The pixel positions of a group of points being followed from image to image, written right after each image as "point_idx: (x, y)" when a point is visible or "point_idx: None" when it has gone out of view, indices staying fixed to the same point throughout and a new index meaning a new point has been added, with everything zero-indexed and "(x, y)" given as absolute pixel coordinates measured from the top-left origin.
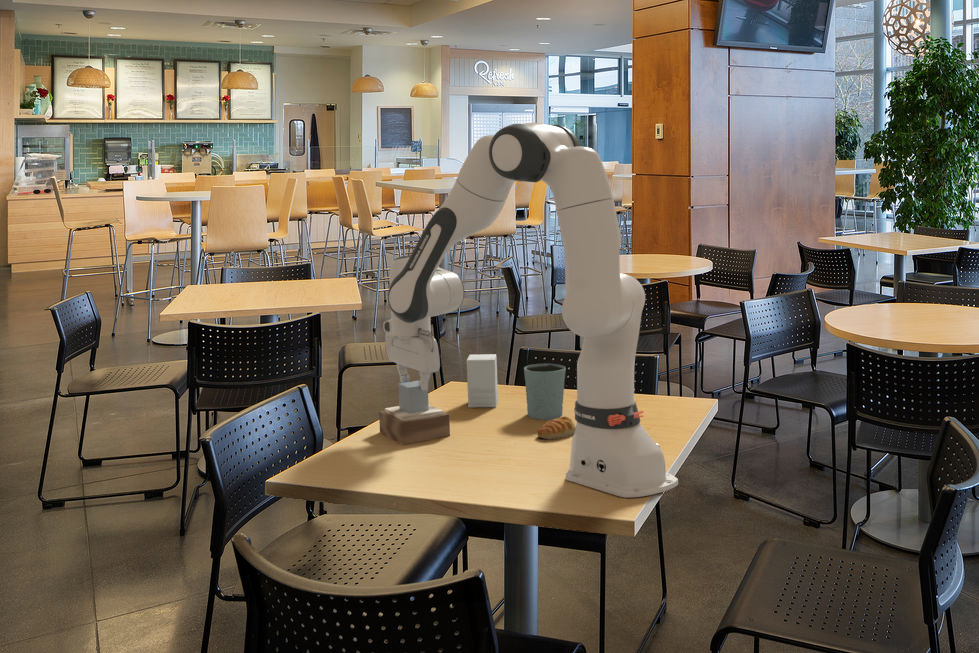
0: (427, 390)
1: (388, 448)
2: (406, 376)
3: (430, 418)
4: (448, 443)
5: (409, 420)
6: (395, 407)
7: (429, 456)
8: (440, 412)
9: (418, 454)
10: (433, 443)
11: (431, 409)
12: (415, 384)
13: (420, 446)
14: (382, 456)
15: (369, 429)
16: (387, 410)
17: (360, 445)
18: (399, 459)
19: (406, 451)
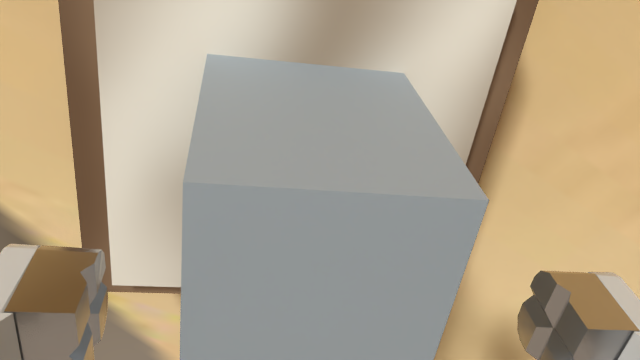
0: (462, 169)
1: None
2: (78, 334)
3: (498, 118)
4: (586, 30)
5: None
6: (135, 221)
7: (637, 213)
8: (506, 13)
9: (575, 233)
10: (514, 94)
11: (402, 40)
12: (359, 296)
13: (495, 170)
14: (468, 338)
15: (18, 218)
16: (165, 283)
17: None
18: None
19: (498, 249)
